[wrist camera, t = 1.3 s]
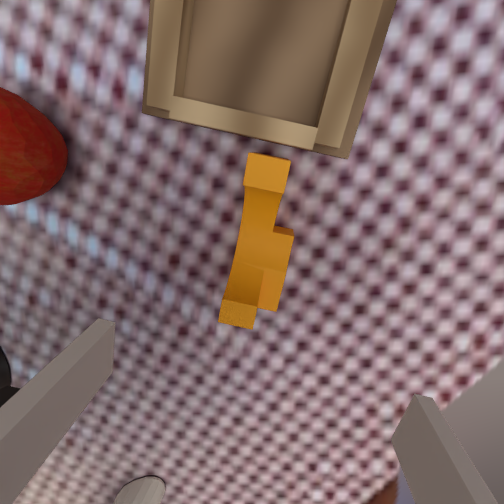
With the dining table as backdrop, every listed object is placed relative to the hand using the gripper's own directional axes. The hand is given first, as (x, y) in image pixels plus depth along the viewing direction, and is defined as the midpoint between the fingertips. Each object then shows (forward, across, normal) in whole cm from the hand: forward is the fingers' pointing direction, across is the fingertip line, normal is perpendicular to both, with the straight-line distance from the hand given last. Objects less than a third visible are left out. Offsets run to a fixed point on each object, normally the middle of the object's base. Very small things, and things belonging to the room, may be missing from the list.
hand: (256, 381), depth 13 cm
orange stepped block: (+15, -1, +3) cm, 15 cm away
